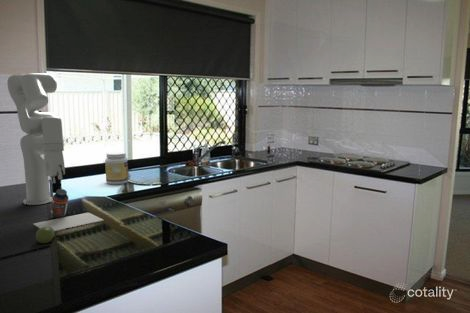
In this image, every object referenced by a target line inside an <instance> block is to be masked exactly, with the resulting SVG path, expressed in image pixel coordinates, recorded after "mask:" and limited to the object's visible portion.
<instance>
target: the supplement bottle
mask: <svg viewBox="0 0 470 313" xmlns="http://www.w3.org/2000/svg"><path fill="white" fill-rule="evenodd" d="M52 197H53V199H52V202H51V208H50V214H51V217H54V218H55V219H58V218H63V217H66V215H67V210H68V203H69V195H68V190H66V189H64V188H62V189H58V190H57V191H56V193H53V195H52Z"/></svg>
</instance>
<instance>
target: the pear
mask: <svg viewBox="0 0 470 313" xmlns="http://www.w3.org/2000/svg"><path fill="white" fill-rule="evenodd" d="M55 233H56V232H54V229H53V228H51V227H43V228H40V229H39V228H38V229H37V231H36V233H35V239H36V241H37V242H38V243H40V244H48V243H50V242H51V241H52V240H53V238H54V237H56V234H55Z"/></svg>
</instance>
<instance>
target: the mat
mask: <svg viewBox="0 0 470 313" xmlns="http://www.w3.org/2000/svg"><path fill="white" fill-rule="evenodd" d="M104 221H105V219H103V218H101V217H99V216H96V215H95V214H93V213H91V212H83V213H80V214H75V215H69V216H64V217H61V218H55V219H48V220H44V221H39V222H35V223H33V226H35V227H36V228H38V230H39V229H40V228H43V227H51V228H53V229H54V233H56V232H58V231H64V230H67V229H66V228H69V229H72V227H73V228H78V227H82V226H86V224H87V225H91V224H95V223H100V222H104ZM81 225H82V226H81ZM77 226H78V227H77Z"/></svg>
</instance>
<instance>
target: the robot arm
mask: <svg viewBox="0 0 470 313" xmlns="http://www.w3.org/2000/svg"><path fill="white" fill-rule="evenodd" d="M57 88H58V82H57V80H56V78H55V76H54V75H53V74H50V73H41V72H40V73H38V72H36V73H35V72H33V73H31V72H30V73H22V74H21V73H17V74H12V75H9V76H8V79H7V90H8V93H9V96H10V97H11V99H12V101H13V103H14V105H15V106H16V112H17V117H18V121H19V122H18V123H19V126H20V129H21V131H22V132H23V133H25V134H26V135H24V136H22V137H21V138H20V140H19V143H20V144H19V145H20V150H21V153H22V157H23V167H24V168H23V169H24V178H25V180H24V182H25V190H26V198H24V199H23V204H24V205H26V204H27V205H28V206H38V205H45V204H48V203H52V199H53V196H50V191H49V190H50V187H49V178H50V180H51V181H50V182H51V189H52V190H51V192H52V193H53V194H56V191H57V190H58V189H63V188H62V180H63V176H65V174H66V168H65V160H64V153H63V151H65V148H64V147H65V146H64V136H63V124H62V119H61V117H60V116H56V115H55V114H54V113H53V112H50V111H39V110H41V109H43V108H44V107H46V106H47V105H48V104H49V97H48V95H47V93H49V94H52V93H55V92H57ZM42 155H44V157H42Z"/></svg>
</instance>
